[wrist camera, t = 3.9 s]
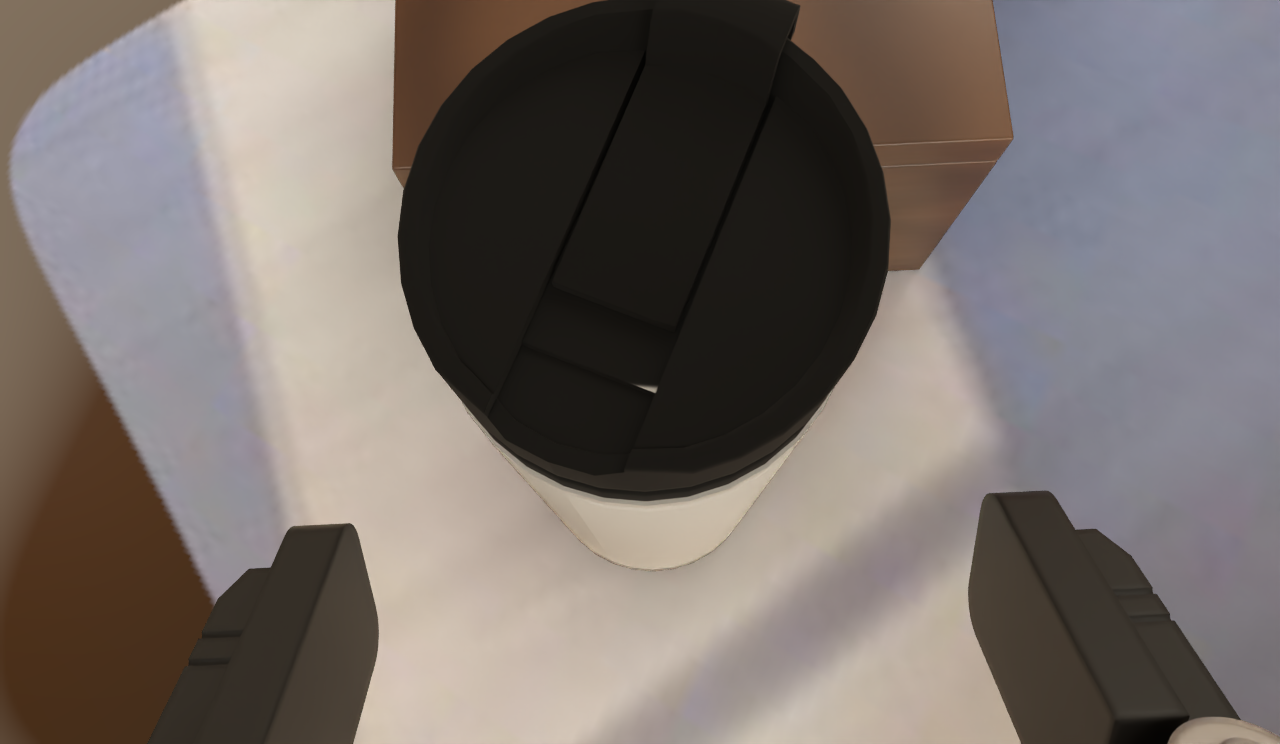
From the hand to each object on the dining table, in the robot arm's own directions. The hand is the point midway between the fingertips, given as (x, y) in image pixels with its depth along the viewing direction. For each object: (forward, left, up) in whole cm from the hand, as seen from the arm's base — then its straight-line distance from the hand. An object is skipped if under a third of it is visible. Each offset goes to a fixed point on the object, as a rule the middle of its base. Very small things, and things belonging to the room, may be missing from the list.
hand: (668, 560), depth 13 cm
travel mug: (0, -4, -18) cm, 19 cm away
